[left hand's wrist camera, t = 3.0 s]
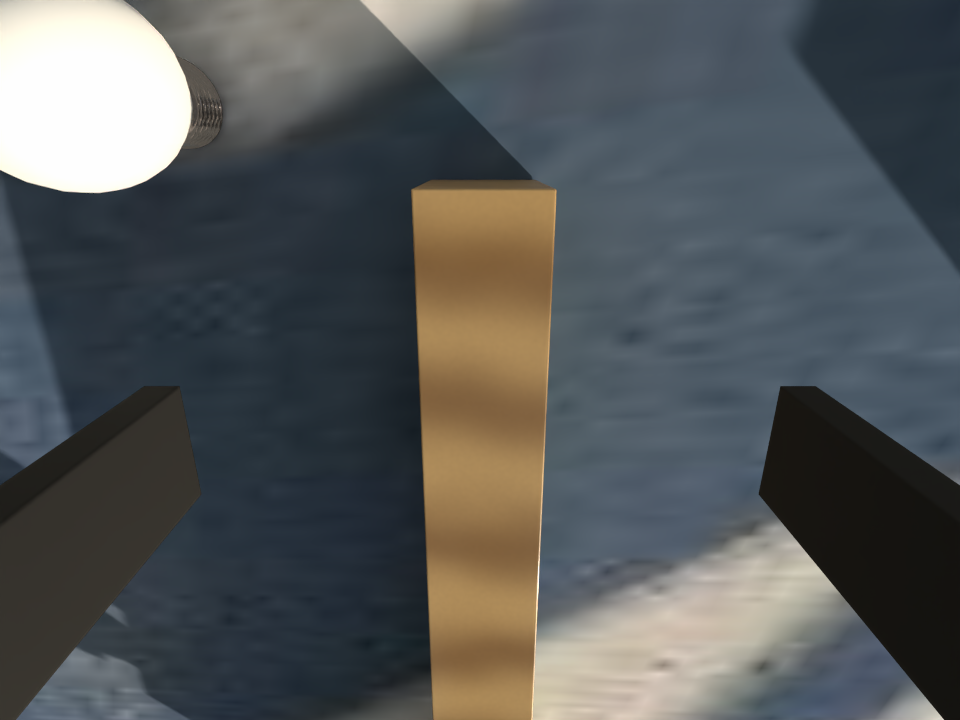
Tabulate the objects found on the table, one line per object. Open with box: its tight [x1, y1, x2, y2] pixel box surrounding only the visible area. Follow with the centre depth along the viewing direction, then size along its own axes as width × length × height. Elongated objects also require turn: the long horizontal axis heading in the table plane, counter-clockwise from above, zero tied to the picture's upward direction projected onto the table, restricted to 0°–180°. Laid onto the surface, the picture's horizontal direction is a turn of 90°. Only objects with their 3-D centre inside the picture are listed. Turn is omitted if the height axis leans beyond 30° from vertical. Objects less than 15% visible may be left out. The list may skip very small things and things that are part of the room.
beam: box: [411, 180, 556, 720], centre depth 32 cm, size 53×5×8 cm, turn 0°
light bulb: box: [0, 0, 223, 193], centre depth 20 cm, size 7×7×11 cm
